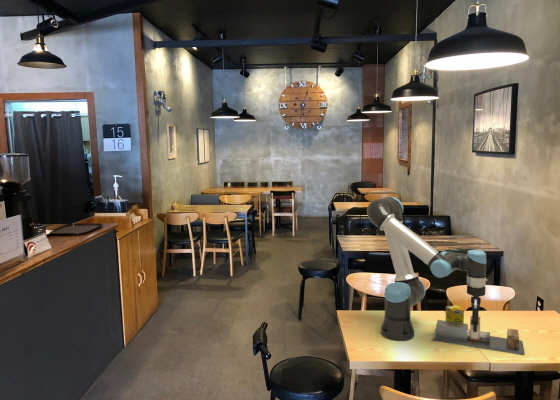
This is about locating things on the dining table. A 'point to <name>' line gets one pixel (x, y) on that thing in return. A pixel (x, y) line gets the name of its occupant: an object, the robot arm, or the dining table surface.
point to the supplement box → (455, 314)
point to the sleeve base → (458, 335)
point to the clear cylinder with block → (481, 334)
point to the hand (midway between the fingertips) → (474, 335)
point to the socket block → (513, 338)
